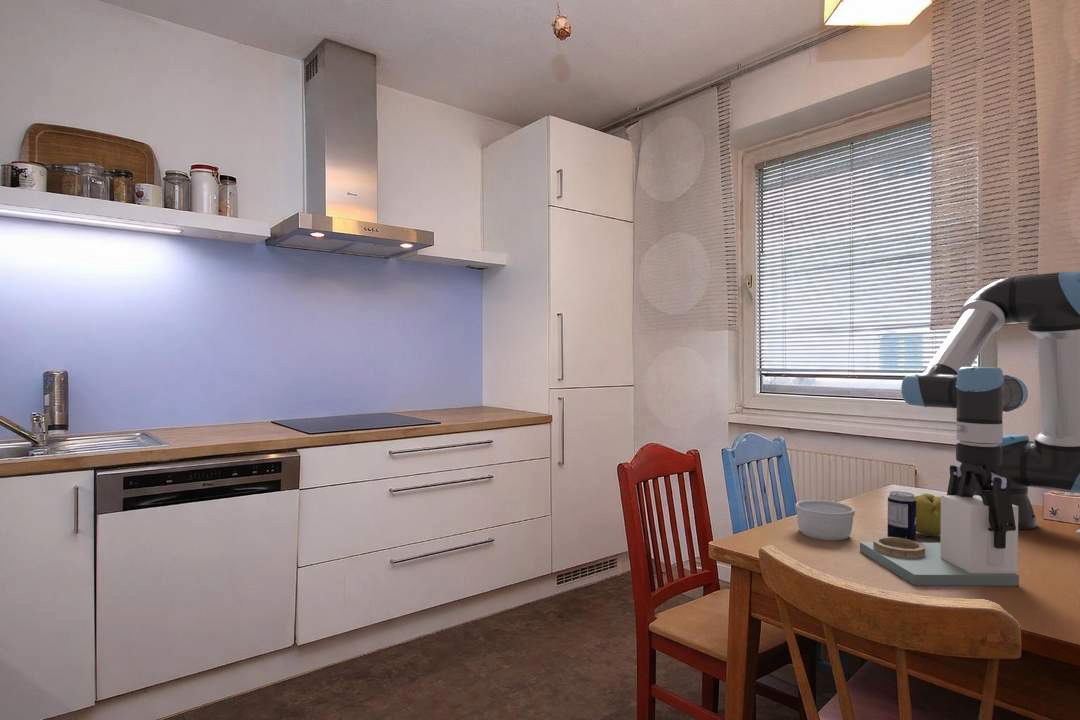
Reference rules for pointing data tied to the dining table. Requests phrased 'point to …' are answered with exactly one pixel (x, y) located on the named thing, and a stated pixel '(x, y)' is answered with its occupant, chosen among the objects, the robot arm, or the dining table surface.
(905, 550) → the socket
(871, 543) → the board
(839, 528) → the ramekin
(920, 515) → the fruit
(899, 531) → the beverage can
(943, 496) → the block
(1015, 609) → the dining table surface
